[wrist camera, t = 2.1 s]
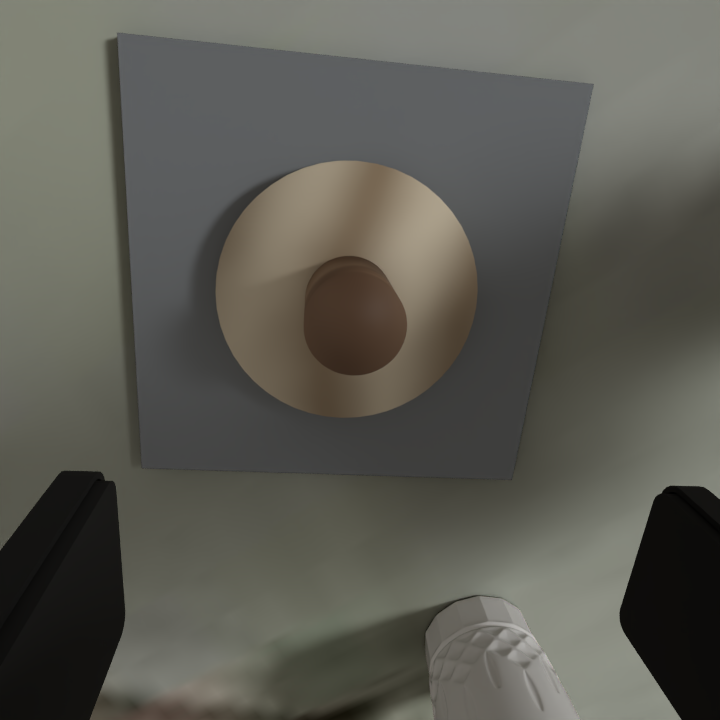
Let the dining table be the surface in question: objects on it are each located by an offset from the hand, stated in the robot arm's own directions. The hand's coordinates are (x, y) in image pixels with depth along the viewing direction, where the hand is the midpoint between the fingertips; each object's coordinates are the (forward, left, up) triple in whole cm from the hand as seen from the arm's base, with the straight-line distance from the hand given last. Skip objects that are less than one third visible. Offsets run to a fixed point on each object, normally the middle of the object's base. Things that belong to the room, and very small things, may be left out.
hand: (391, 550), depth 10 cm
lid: (0, 0, -18) cm, 18 cm away
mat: (0, 0, -19) cm, 19 cm away
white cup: (-10, +22, -19) cm, 31 cm away
